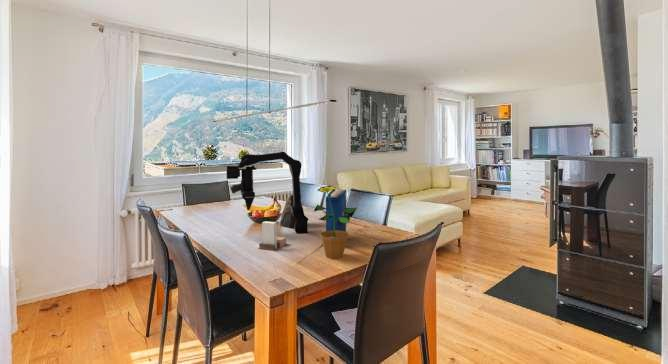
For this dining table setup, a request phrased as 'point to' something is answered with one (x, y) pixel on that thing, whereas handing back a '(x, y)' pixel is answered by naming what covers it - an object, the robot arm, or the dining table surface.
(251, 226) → the dining table surface
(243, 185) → the robot arm
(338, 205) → the book
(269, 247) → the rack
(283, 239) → the offcut top
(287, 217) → the owl
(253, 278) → the dining table surface
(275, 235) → the tall white pillar
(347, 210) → the potted plant
